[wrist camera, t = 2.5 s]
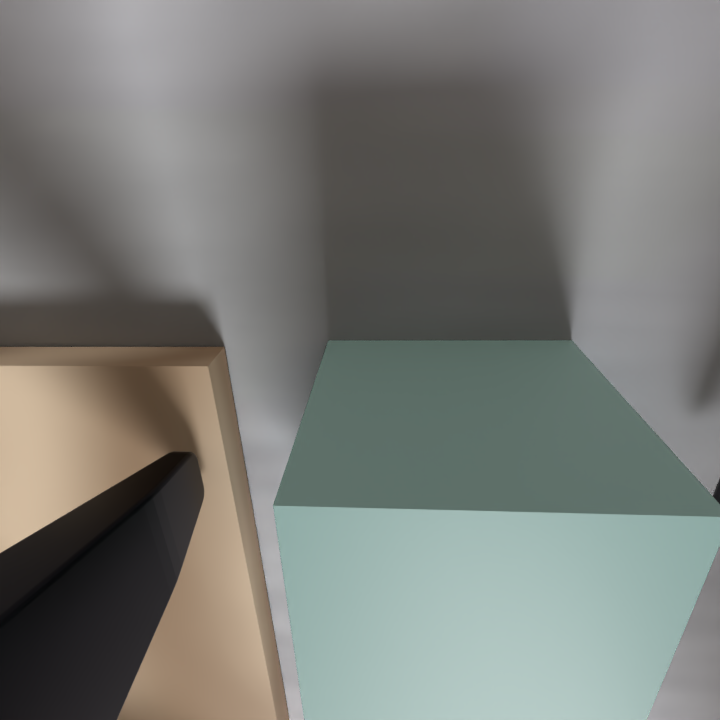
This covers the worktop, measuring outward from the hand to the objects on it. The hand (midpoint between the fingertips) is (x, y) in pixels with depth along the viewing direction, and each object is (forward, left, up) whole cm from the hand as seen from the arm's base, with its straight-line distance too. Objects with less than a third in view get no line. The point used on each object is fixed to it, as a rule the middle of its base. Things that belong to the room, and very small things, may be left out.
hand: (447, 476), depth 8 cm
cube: (0, 0, -1) cm, 1 cm away
